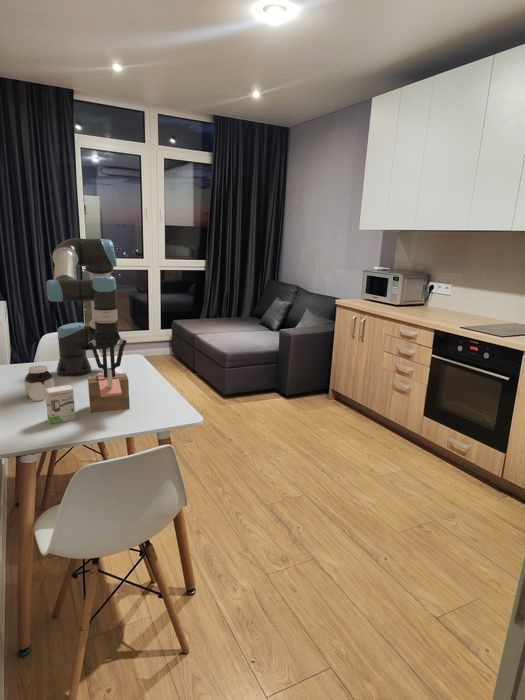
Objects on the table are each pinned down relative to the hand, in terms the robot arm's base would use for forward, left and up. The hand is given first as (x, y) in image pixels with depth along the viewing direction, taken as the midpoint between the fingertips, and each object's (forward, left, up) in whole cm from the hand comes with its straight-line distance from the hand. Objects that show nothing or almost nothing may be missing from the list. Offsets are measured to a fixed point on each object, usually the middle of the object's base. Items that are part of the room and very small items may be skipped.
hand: (110, 385), depth 157 cm
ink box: (-4, -17, -12) cm, 21 cm away
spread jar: (-31, -25, -12) cm, 42 cm away
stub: (-1, 0, -1) cm, 2 cm away
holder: (-10, 0, -12) cm, 16 cm away
